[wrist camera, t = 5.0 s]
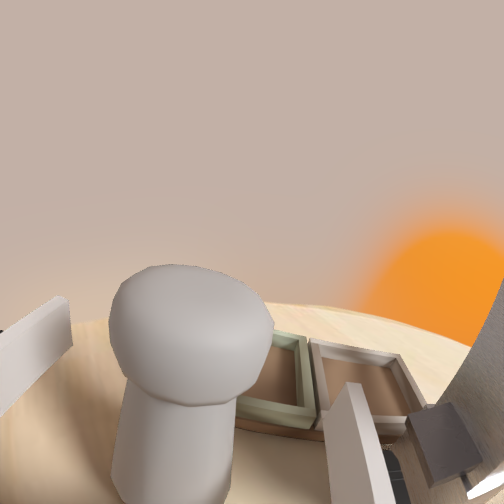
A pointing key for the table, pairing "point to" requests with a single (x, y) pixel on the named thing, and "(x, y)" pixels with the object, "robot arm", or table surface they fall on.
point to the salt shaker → (183, 380)
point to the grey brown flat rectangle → (325, 388)
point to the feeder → (461, 428)
